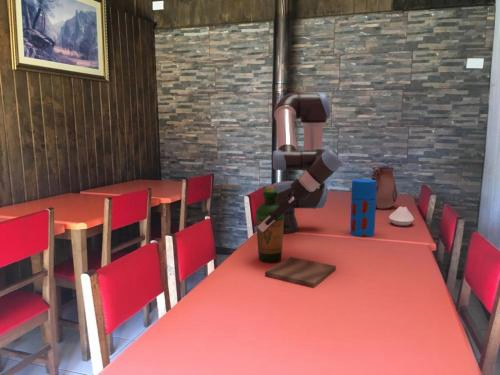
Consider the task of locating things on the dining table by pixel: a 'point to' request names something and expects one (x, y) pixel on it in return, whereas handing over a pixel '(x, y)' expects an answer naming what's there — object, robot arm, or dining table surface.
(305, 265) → the walnut board
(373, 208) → the thermos
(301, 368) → the dining table surface
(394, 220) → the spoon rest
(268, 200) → the bottle
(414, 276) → the dining table surface
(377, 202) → the ceramic pitcher
